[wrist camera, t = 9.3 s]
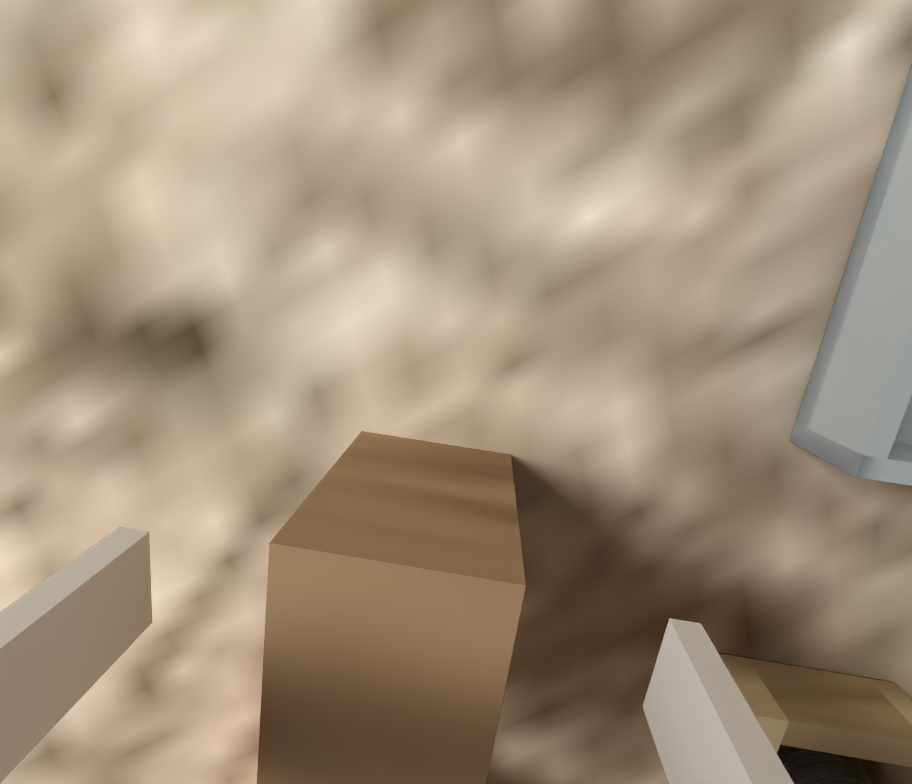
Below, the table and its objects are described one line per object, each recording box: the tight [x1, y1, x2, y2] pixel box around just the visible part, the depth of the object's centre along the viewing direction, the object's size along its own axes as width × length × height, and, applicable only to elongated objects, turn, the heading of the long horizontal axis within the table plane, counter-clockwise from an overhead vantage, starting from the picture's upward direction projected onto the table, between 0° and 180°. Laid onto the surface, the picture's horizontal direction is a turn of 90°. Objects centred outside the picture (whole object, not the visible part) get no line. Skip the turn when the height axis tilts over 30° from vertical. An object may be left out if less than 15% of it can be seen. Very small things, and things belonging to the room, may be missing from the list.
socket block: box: [720, 654, 912, 784], centre depth 16 cm, size 6×6×2 cm
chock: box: [257, 431, 526, 784], centre depth 14 cm, size 8×5×7 cm, turn 172°
